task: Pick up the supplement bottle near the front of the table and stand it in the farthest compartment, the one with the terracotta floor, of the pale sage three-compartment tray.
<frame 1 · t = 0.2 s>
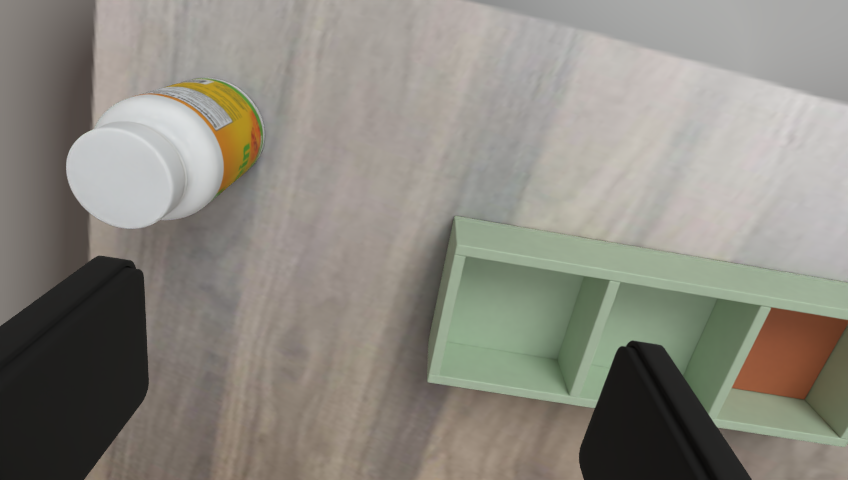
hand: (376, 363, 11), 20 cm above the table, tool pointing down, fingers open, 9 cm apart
supplement bottle: (218, 127, 29), on the table
tray: (640, 314, 33), on the table
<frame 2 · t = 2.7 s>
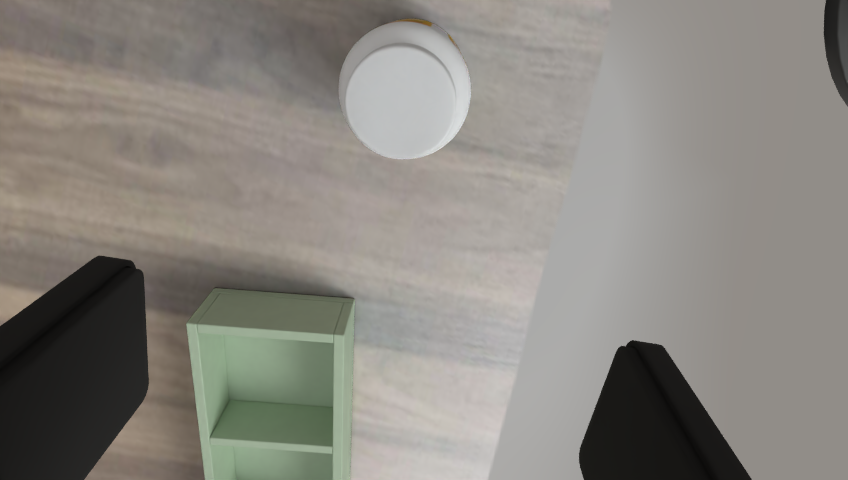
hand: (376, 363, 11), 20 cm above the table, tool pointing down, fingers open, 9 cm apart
supplement bottle: (412, 73, 28), on the table
tray: (289, 446, 38), on the table
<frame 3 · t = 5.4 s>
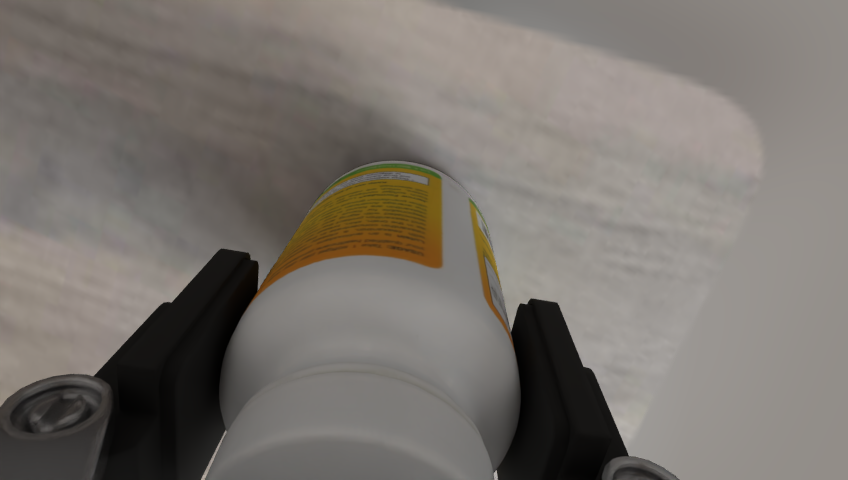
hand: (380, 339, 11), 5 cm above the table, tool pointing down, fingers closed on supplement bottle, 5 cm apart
supplement bottle: (398, 243, 16), on the table, touching gripper
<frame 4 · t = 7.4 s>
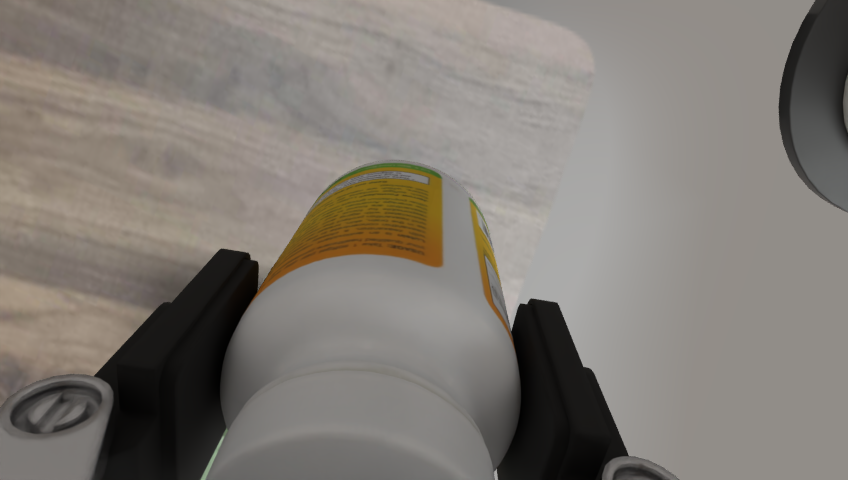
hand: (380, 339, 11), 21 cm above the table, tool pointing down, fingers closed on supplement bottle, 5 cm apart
supplement bottle: (398, 242, 16), point 16 cm above the table, touching gripper
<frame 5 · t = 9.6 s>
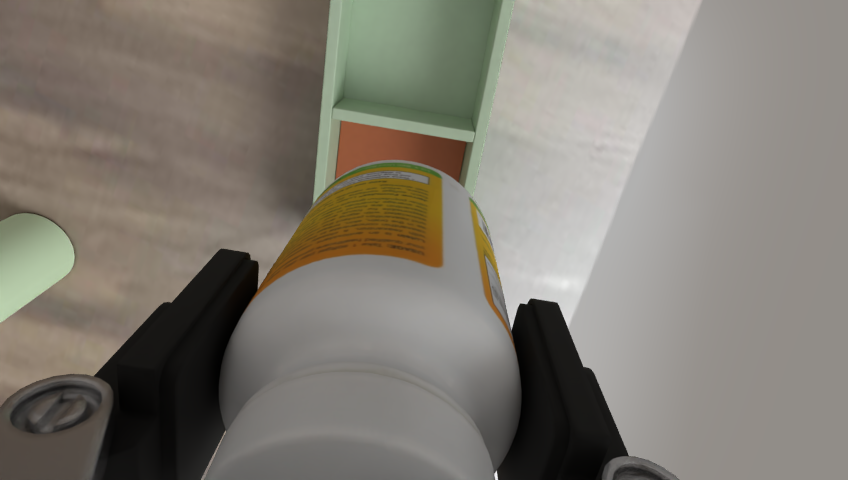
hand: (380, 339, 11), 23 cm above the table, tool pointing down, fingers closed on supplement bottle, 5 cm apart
supplement bottle: (398, 242, 16), point 17 cm above the table, touching gripper
tray: (418, 39, 30), on the table
candle: (39, 246, 36), on the table
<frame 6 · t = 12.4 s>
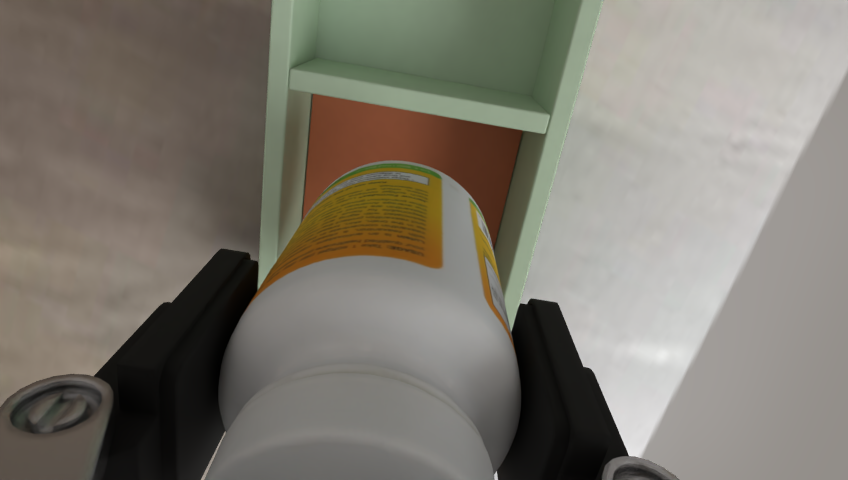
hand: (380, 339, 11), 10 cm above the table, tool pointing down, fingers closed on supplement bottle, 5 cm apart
supplement bottle: (398, 243, 16), point 5 cm above the table, touching gripper
when the fingers open (6 cm above the table, at t = 14.1 s): supplement bottle stays where it is, resting on tray.
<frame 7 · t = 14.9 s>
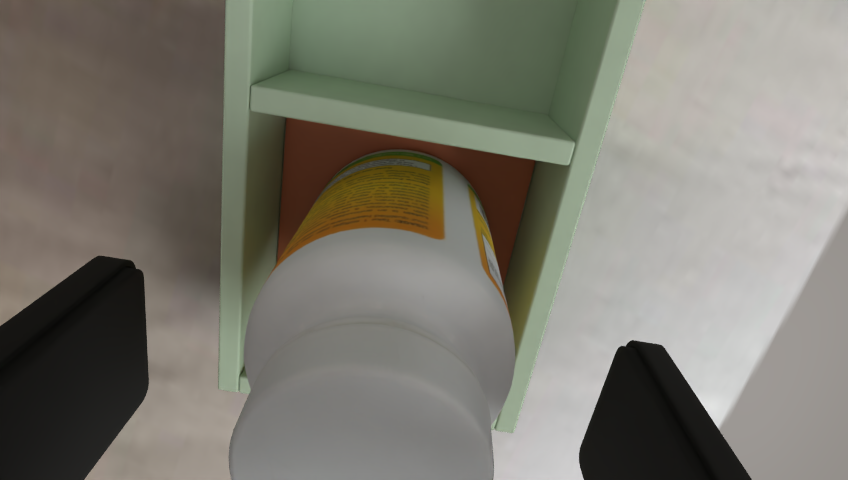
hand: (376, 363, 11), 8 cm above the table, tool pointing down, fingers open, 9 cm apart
supplement bottle: (401, 227, 17), point 1 cm above the table, touching tray
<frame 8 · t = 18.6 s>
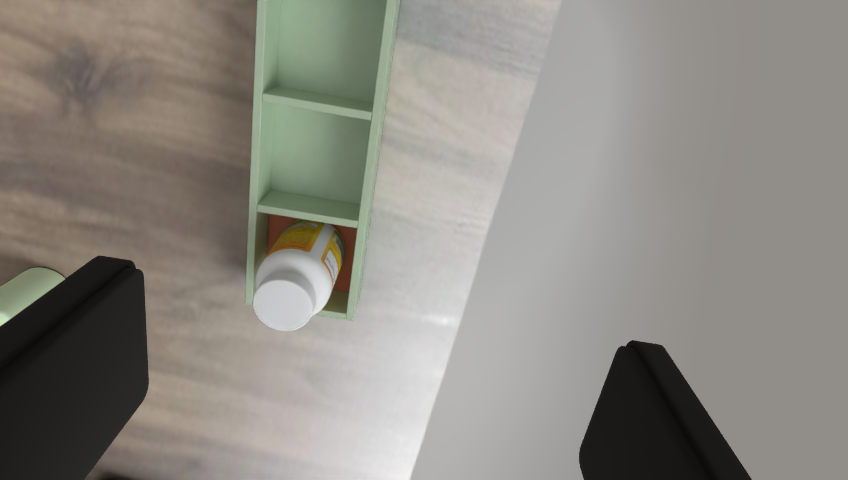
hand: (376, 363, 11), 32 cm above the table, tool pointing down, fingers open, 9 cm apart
supplement bottle: (314, 245, 44), point 1 cm above the table, touching tray
tray: (323, 149, 42), on the table
candle: (49, 290, 48), on the table
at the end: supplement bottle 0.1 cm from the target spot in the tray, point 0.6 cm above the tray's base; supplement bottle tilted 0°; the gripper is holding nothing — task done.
